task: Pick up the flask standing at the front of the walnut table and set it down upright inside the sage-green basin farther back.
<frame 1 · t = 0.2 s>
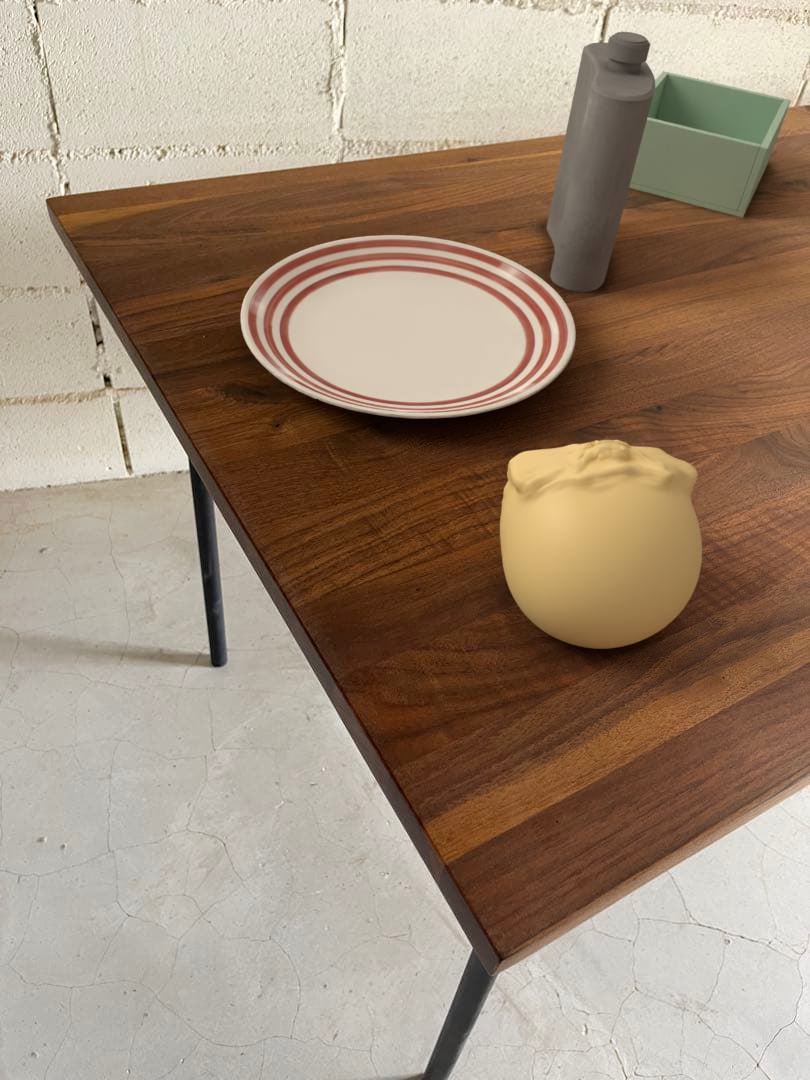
dinner plate: (406, 346, 75), on the table
basin: (690, 174, 106), on the table
flask: (575, 259, 89), on the table
sculpture: (579, 599, 56), on the table
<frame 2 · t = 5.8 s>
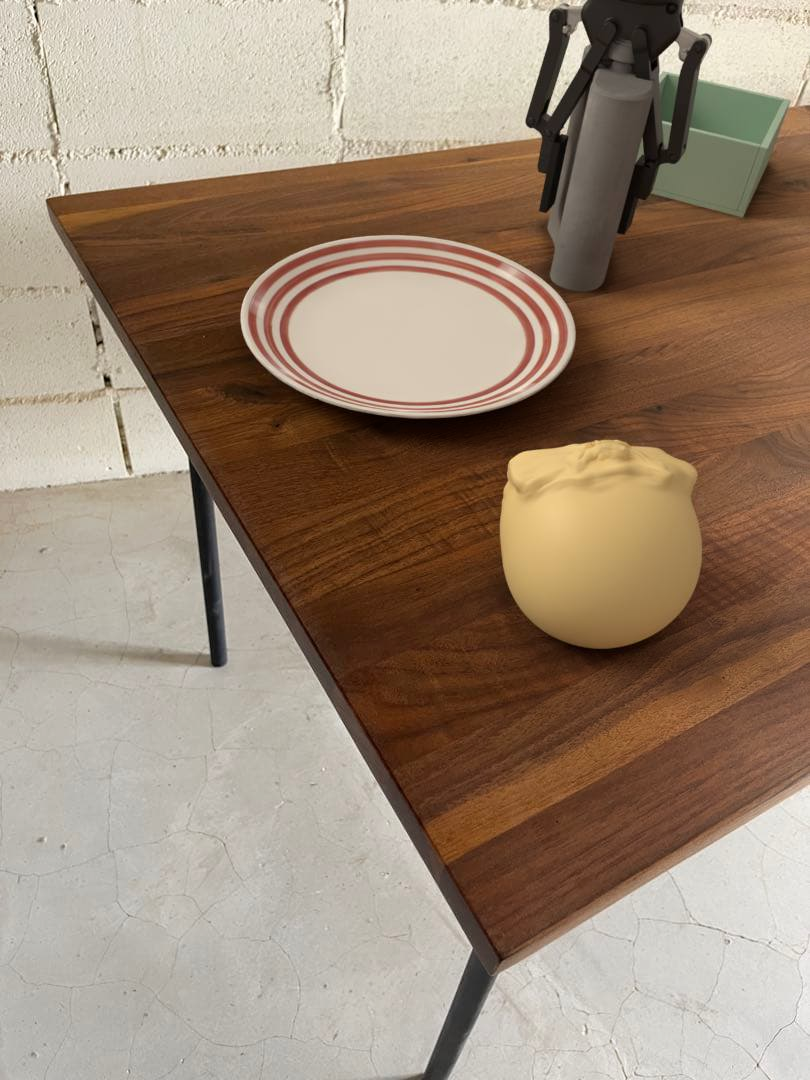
hand: (585, 217, 86), 4 cm above the table, tool pointing down, fingers closed on flask, 7 cm apart
flask: (576, 258, 89), on the table, touching gripper
everything else where it was.
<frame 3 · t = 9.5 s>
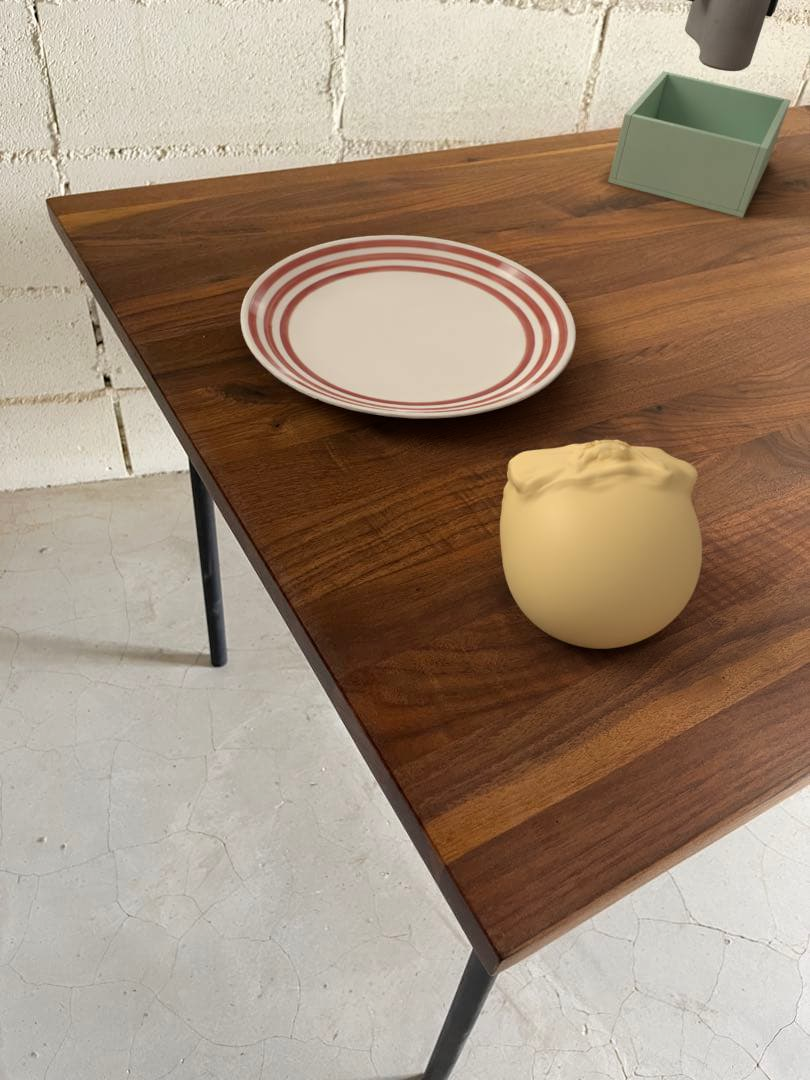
hand: (730, 5, 90), 19 cm above the table, tool pointing down, fingers closed on flask, 7 cm apart
flask: (717, 51, 93), point 14 cm above the table, touching gripper
everything else where it was.
when the fingers open (7 cm above the table, at t = 14.4 s): flask stays where it is, resting on basin.
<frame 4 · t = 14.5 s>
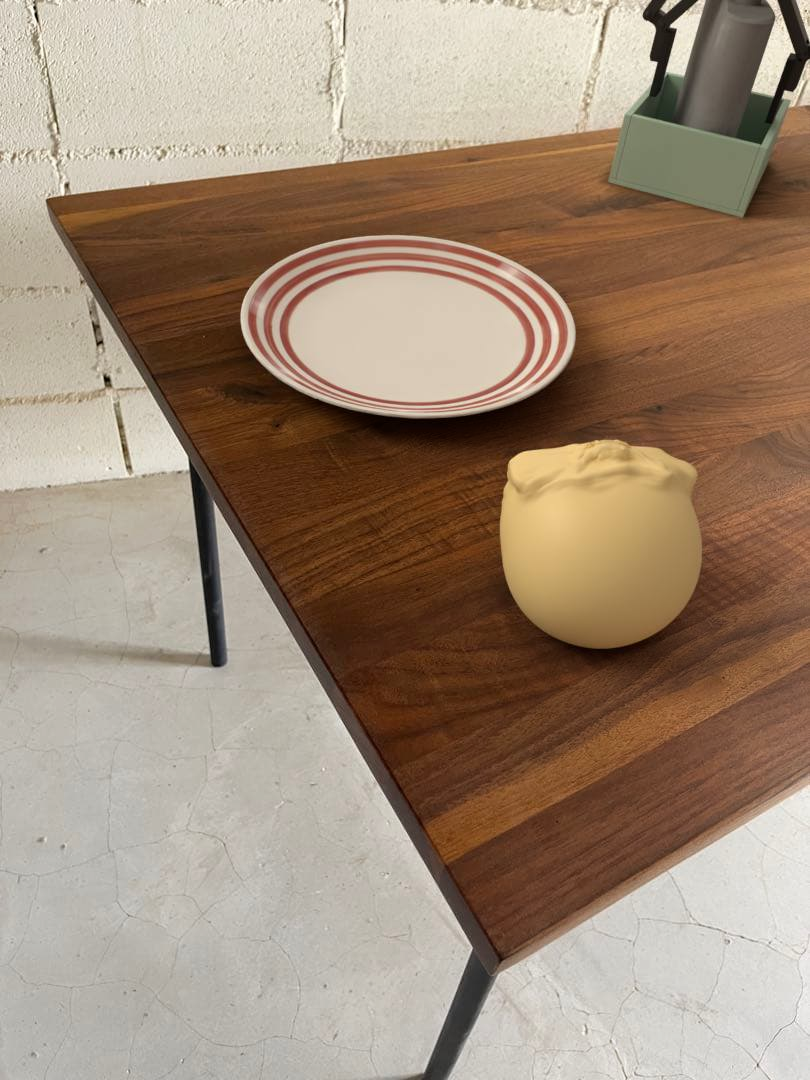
hand: (711, 106, 101), 8 cm above the table, tool pointing down, fingers open, 13 cm apart
flask: (692, 169, 106), point 1 cm above the table, touching basin
everything else where it was.
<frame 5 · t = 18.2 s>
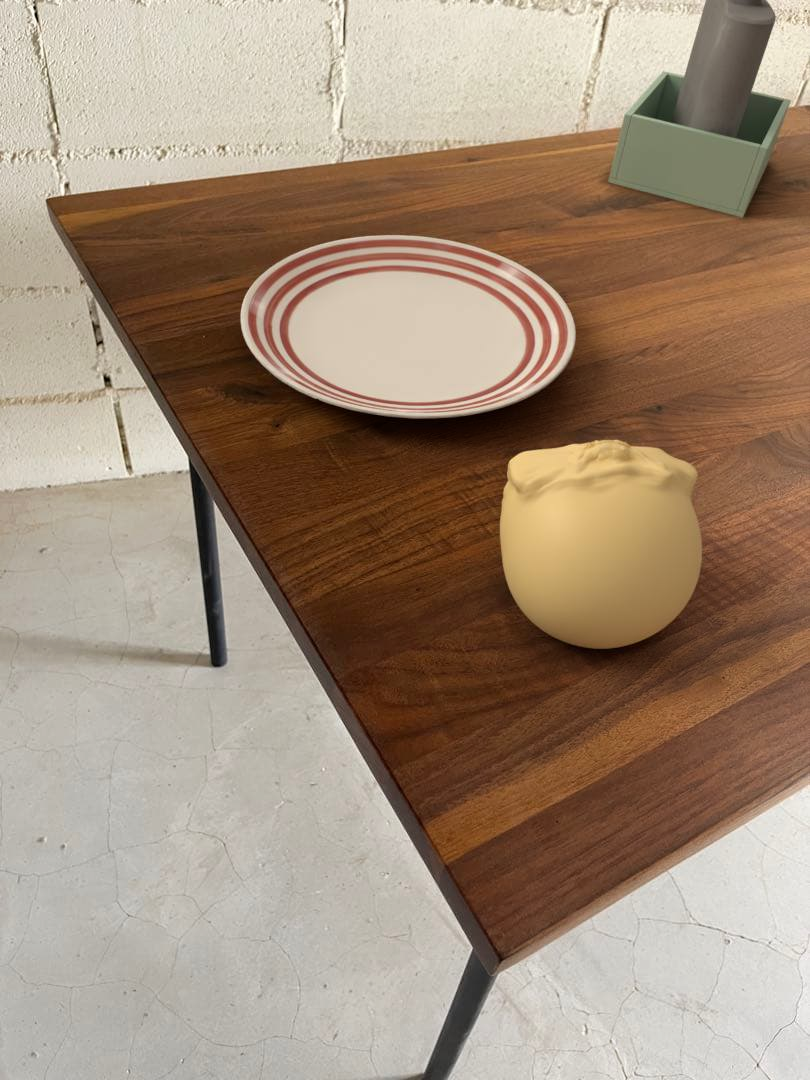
nothing on the table moved.
at the end: flask inside the target area in the basin (0.1 cm from its centre), point 0.6 cm above the basin's base; flask tilted 0°; the gripper is holding nothing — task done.
